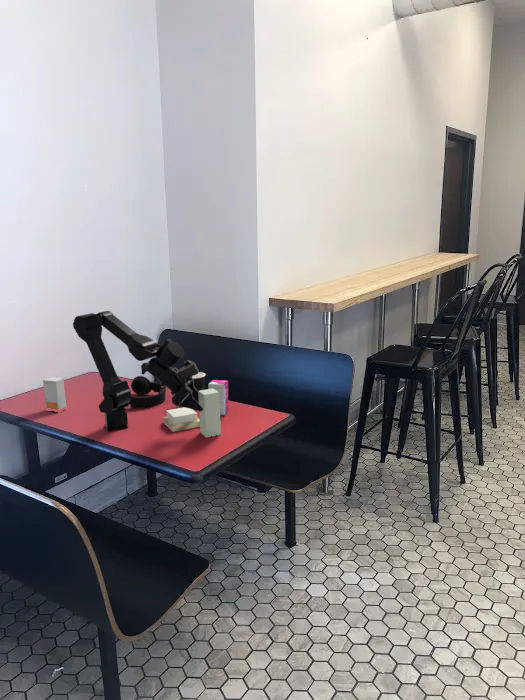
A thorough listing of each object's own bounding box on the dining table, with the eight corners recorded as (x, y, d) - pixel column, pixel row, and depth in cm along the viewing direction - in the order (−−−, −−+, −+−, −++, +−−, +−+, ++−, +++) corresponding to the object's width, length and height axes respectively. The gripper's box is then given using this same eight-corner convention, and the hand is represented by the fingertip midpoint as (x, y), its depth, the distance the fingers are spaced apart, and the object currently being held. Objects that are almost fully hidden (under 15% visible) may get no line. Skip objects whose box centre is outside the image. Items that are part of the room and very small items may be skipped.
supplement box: (225, 416, 202) (223, 384, 199) (208, 415, 203) (207, 384, 200) (229, 411, 207) (228, 379, 205) (213, 410, 208) (211, 379, 206)
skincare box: (45, 411, 212) (42, 379, 210) (54, 408, 216) (50, 376, 213) (59, 413, 210) (55, 381, 207) (67, 409, 214) (63, 378, 211)
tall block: (206, 437, 183) (204, 394, 179) (200, 432, 187) (198, 390, 184) (221, 434, 185) (219, 392, 182) (215, 429, 189) (213, 388, 186)
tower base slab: (172, 433, 189) (172, 426, 188) (163, 424, 197) (163, 417, 197) (201, 427, 193) (201, 420, 192) (191, 419, 202) (191, 412, 201)
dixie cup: (181, 403, 218) (179, 374, 215) (199, 398, 222) (198, 370, 220) (192, 408, 211) (190, 378, 209) (210, 403, 216) (209, 374, 214)
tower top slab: (174, 424, 189) (173, 417, 189) (166, 417, 196) (166, 410, 196) (197, 420, 193) (197, 413, 192) (189, 413, 200) (189, 406, 199)
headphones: (142, 371, 233) (175, 384, 221) (142, 389, 235) (175, 403, 223) (104, 381, 220) (138, 396, 208) (105, 401, 222) (138, 417, 210)
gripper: (180, 361, 170) (220, 396, 174) (183, 348, 189) (219, 379, 192) (155, 389, 172) (195, 422, 175) (160, 373, 190) (197, 403, 193)
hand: (202, 405), depth 183 cm, fingers open, 9 cm apart
